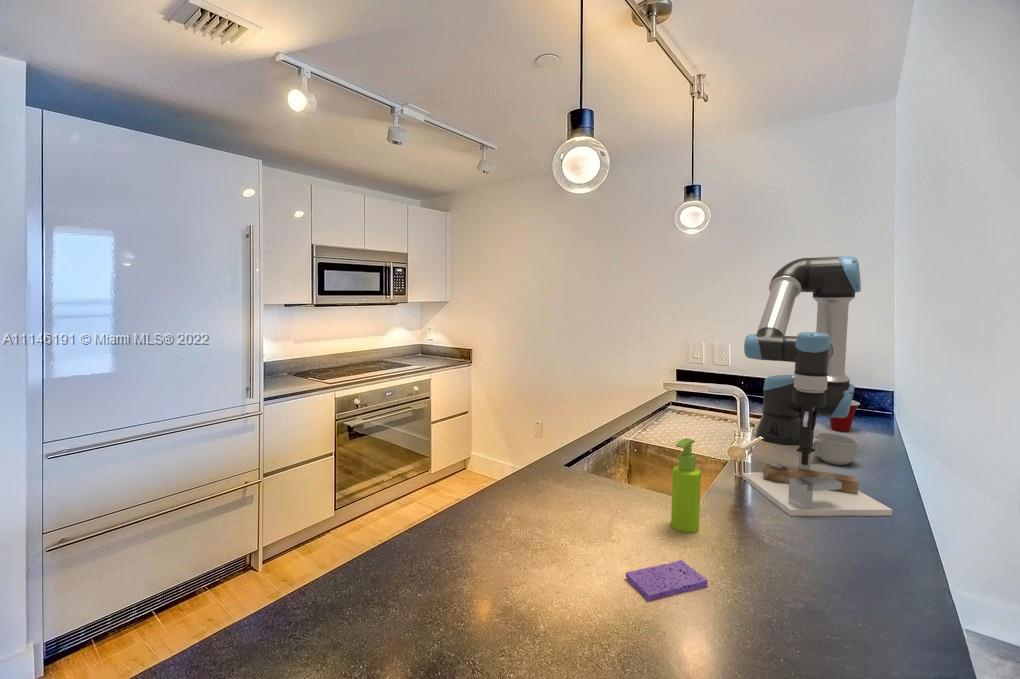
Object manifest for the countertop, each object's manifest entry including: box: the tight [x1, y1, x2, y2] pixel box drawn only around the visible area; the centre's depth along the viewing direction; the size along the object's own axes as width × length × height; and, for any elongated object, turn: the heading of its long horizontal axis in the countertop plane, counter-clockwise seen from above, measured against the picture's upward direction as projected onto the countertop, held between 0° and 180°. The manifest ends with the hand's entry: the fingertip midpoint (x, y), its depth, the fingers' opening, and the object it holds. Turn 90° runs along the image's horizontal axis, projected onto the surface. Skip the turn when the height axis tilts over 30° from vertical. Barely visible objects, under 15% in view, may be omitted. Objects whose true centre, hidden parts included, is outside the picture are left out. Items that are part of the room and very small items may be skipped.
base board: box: [742, 471, 893, 517], centre depth 122 cm, size 24×24×2 cm
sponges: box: [625, 559, 708, 602], centre depth 84 cm, size 7×13×2 cm, turn 109°
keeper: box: [788, 476, 842, 509], centre depth 113 cm, size 4×10×7 cm, turn 98°
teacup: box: [812, 431, 859, 466], centre depth 146 cm, size 14×11×8 cm
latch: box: [763, 462, 859, 494], centre depth 125 cm, size 21×6×4 cm, turn 62°
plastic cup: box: [829, 399, 861, 433], centre depth 181 cm, size 11×11×12 cm
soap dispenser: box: [670, 437, 702, 534], centre depth 104 cm, size 6×7×20 cm
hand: (804, 474), depth 128 cm, fingers closed
